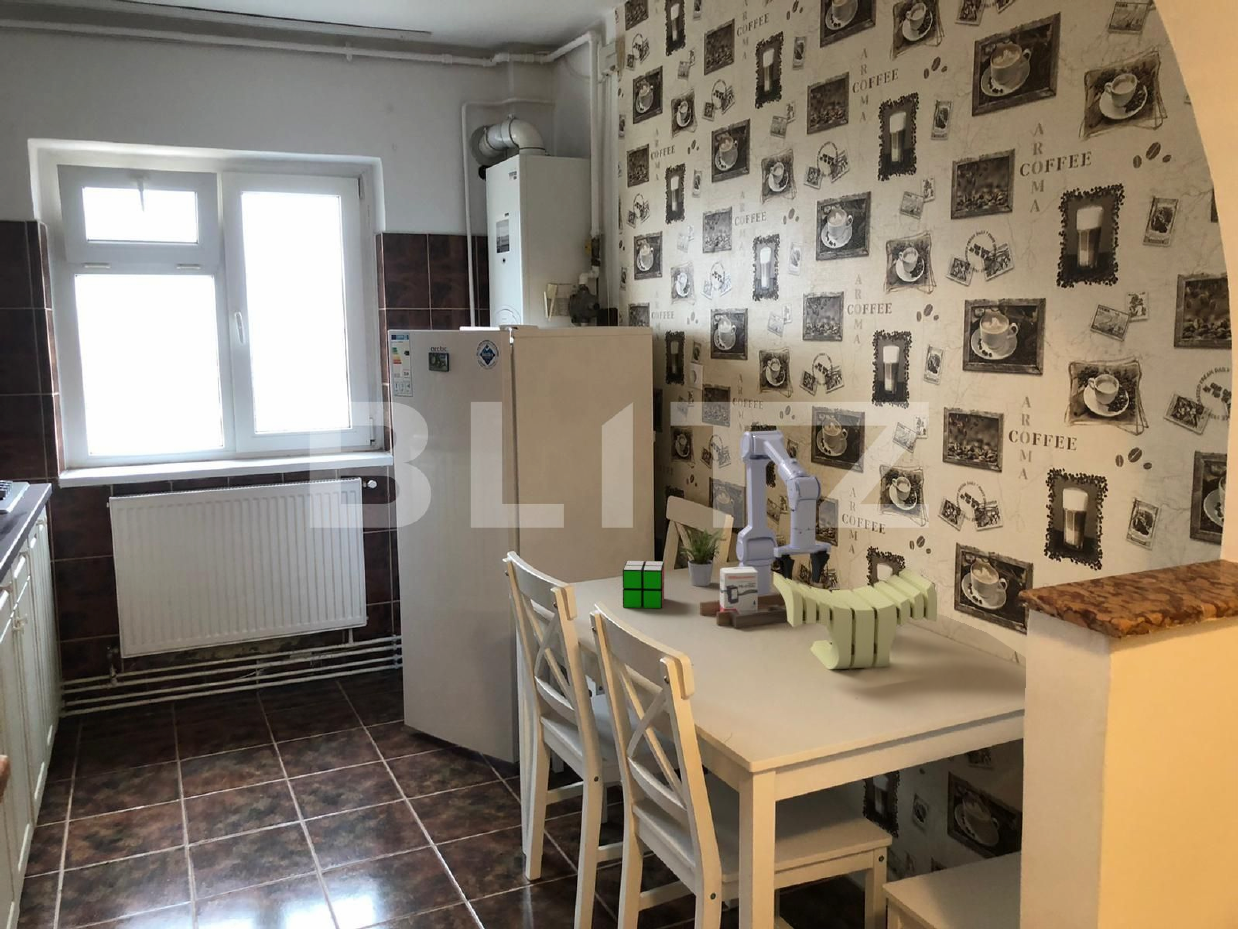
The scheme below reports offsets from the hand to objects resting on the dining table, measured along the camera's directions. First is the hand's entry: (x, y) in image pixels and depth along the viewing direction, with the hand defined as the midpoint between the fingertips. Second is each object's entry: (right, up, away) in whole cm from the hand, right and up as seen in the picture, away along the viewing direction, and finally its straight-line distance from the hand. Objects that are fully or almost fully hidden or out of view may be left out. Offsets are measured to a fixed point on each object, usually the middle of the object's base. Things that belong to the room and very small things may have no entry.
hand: (801, 584), depth 233 cm
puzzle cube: (-37, -8, +21) cm, 43 cm away
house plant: (-19, -5, +39) cm, 44 cm away
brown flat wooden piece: (-6, -9, +10) cm, 14 cm away
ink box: (-14, -9, +9) cm, 19 cm away
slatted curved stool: (+6, -14, -23) cm, 28 cm away
